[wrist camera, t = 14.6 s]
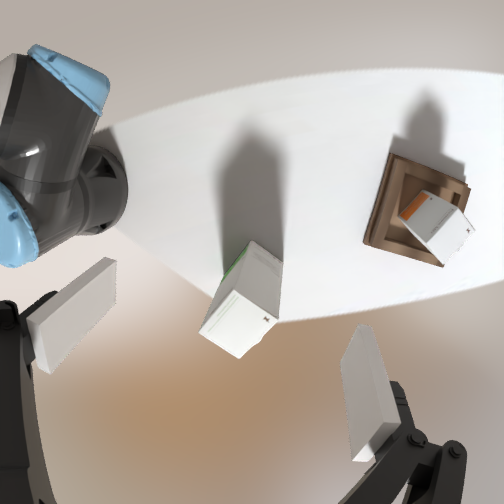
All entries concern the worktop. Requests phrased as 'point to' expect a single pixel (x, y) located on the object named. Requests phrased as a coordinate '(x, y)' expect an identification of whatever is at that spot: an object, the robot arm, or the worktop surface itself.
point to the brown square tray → (399, 197)
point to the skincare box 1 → (245, 301)
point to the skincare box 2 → (437, 225)
